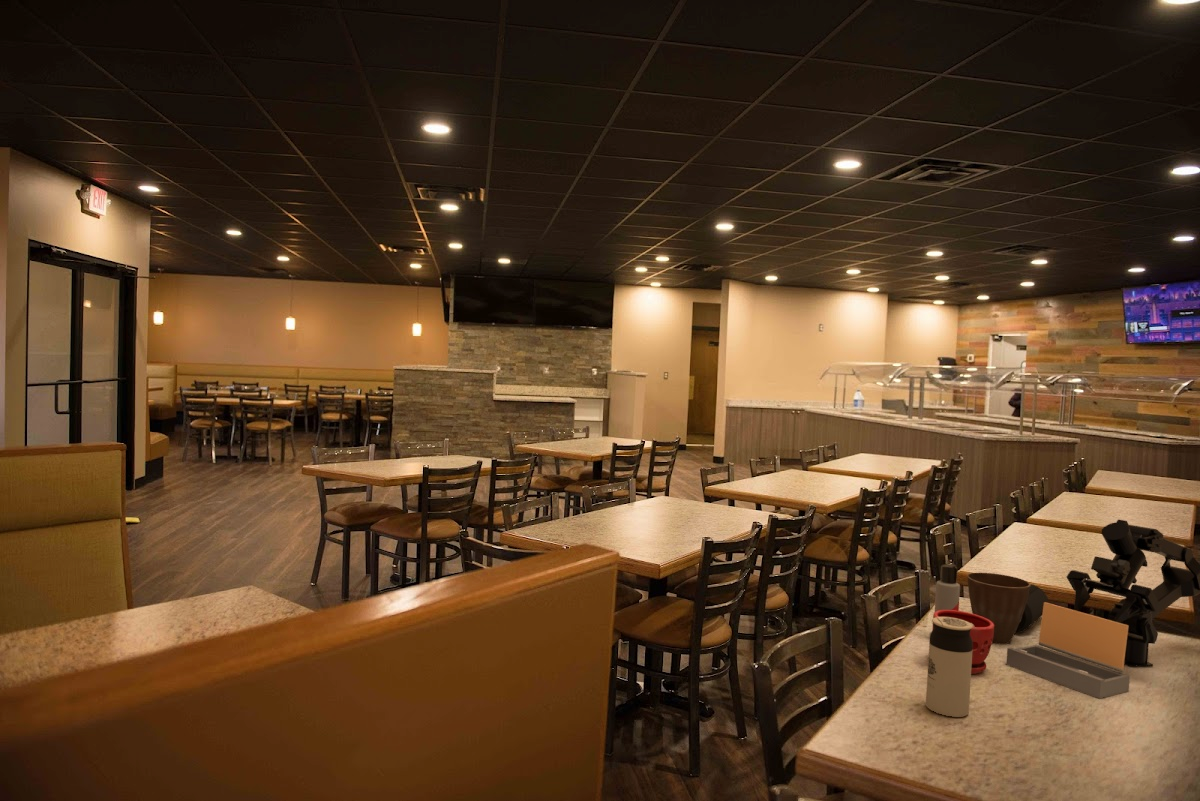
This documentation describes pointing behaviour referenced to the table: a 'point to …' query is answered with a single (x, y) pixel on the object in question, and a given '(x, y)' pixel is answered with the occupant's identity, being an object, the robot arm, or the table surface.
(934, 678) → the travel mug
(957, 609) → the lotion bottle
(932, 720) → the table surface
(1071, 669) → the grey rectangular tray
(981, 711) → the table surface
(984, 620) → the plant pot
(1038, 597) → the portable speaker
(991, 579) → the plant pot
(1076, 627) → the cover
